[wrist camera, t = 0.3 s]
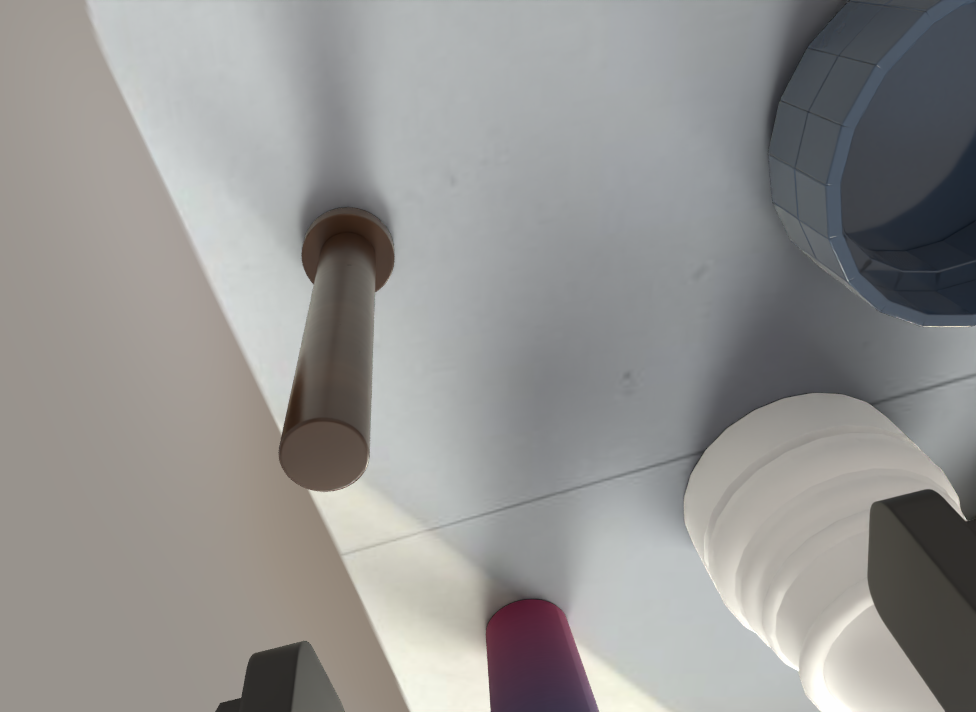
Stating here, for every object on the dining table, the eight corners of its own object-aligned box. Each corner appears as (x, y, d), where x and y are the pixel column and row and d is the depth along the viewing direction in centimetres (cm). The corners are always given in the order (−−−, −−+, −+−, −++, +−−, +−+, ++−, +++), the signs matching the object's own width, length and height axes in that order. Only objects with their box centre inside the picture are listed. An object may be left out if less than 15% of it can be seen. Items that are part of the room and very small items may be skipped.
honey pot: (735, 374, 40) (960, 650, 25) (943, 413, 43) (1264, 683, 27) (651, 562, 46) (790, 887, 30) (840, 585, 49) (1058, 894, 33)
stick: (289, 221, 34) (221, 417, 20) (377, 195, 34) (371, 374, 20) (322, 301, 36) (281, 532, 22) (405, 277, 36) (418, 492, 22)
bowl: (746, 8, 32) (817, 21, 27) (1084, -93, 32) (1223, -100, 27) (774, 308, 39) (835, 366, 34) (1052, 228, 39) (1158, 273, 33)
